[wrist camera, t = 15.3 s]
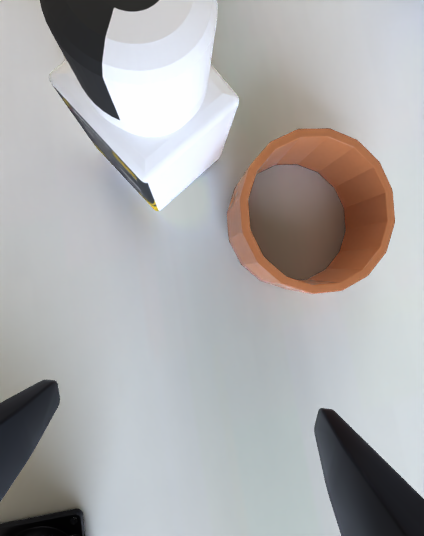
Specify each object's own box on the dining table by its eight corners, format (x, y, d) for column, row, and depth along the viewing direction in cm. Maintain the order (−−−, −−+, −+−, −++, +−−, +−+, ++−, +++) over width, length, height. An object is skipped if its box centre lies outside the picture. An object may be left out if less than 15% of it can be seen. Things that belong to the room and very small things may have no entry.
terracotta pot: (233, 293, 20) (247, 300, 16) (221, 159, 20) (233, 129, 16) (355, 281, 22) (400, 284, 17) (345, 156, 22) (388, 127, 17)
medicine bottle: (94, 145, 19) (-52, -60, 7) (162, 89, 20) (132, -186, 8) (158, 214, 20) (121, 130, 8) (221, 157, 20) (279, -1, 8)
